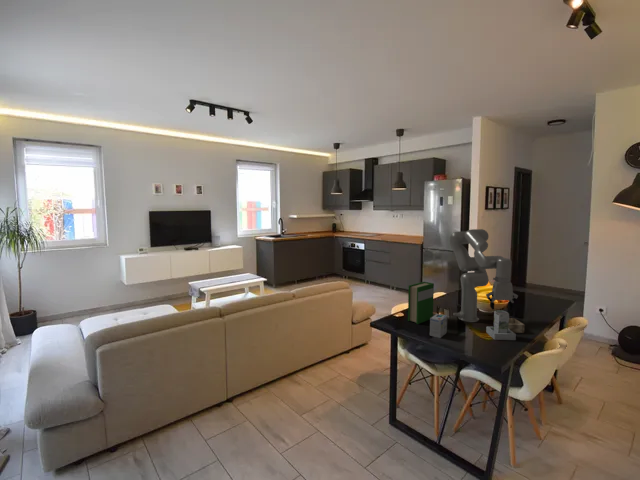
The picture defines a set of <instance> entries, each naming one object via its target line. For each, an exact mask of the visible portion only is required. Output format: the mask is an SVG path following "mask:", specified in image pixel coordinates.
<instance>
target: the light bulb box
mask: <svg viewBox="0 0 640 480" xmlns="http://www.w3.org/2000/svg"><path fill="white" fill-rule="evenodd" d="M447 331H448V315H447V314H440V313H435V314H433V317H431V318H430V320H429V336H431V337H435V338H437V339H441V338H442V337H444V336H445V335H446V334H447Z"/></svg>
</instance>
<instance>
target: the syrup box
mask: <svg viewBox="0 0 640 480" xmlns="http://www.w3.org/2000/svg"><path fill="white" fill-rule="evenodd" d="M509 318H510V313H509V312H507V311H505V310H494V311H493V326H492V327H493V331H494V332H495V333H508V325H509Z"/></svg>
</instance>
